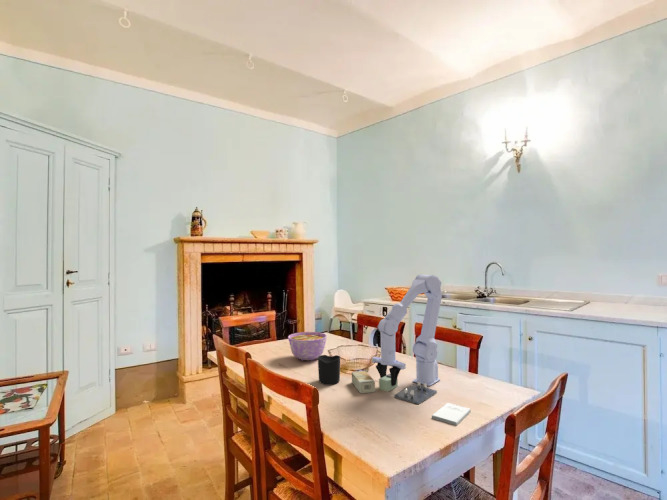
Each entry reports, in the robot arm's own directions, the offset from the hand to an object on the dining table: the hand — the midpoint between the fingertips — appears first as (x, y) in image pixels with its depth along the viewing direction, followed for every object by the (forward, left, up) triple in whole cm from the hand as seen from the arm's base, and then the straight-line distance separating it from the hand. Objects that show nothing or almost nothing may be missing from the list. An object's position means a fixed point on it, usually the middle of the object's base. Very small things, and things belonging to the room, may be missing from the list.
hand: (388, 383), depth 143 cm
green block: (0, 0, -2) cm, 2 cm away
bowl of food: (-7, -54, -2) cm, 54 cm away
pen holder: (+10, -23, -2) cm, 25 cm away
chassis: (0, +12, -1) cm, 12 cm away
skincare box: (+10, -3, +1) cm, 10 cm away
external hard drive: (+7, +29, -2) cm, 30 cm away
